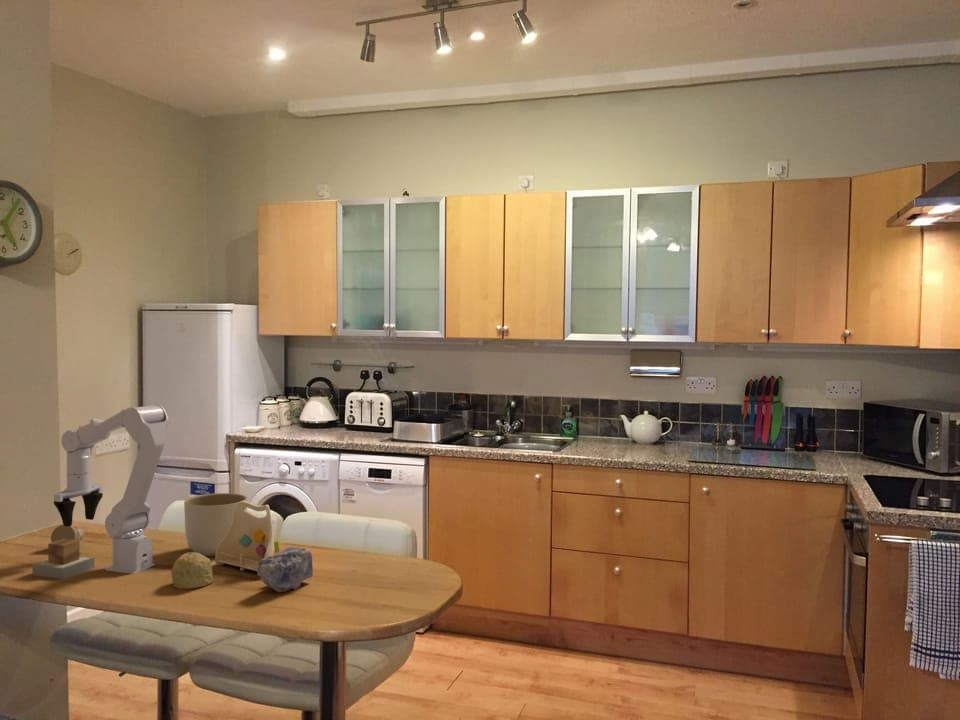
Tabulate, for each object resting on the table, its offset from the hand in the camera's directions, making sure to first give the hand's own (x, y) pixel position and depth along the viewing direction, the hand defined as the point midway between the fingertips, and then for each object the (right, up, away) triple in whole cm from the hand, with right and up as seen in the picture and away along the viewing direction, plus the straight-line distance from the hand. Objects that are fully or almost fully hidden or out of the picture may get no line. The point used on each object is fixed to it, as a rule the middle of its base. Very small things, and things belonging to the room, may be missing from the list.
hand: (78, 522), depth 205 cm
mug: (-11, -11, +15) cm, 21 cm away
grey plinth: (+2, -11, -10) cm, 15 cm away
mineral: (+62, -12, -23) cm, 67 cm away
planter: (+34, -11, +10) cm, 37 cm away
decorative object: (+41, -12, -18) cm, 47 cm away
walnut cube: (+2, -8, -10) cm, 13 cm away
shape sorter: (+50, -12, -5) cm, 51 cm away
